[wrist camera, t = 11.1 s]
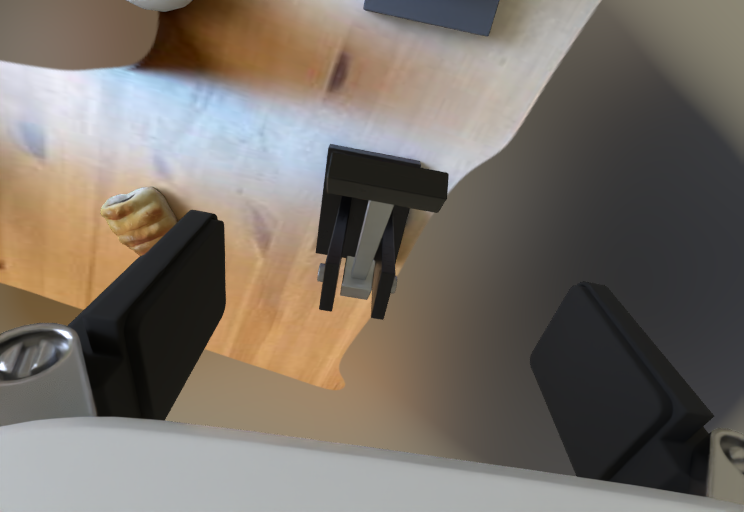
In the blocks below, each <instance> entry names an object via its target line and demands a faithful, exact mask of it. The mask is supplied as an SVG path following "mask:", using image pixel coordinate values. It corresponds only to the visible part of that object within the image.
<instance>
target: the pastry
mask: <svg viewBox="0 0 744 512" xmlns="http://www.w3.org/2000/svg"><path fill="white" fill-rule="evenodd" d="M101 215H102V216H103V217H104V218H105V219H106V221H107V223H108V225H109V227H110V228H111V230H112V231H113V232H114V233H115V234H116V235H117V237H118V239H119V241H120V242H121V243H122V244H124V245H126V246H127V247H129V248H130V249H132V250H134V251H135V252H136V253H137V254H138V255H139V256H142V255H144V254H145V253H147V252H148V251H149V250H150V249H151V248H152V247H153V246H154V245H155V244H156V243H157V242H158V241H159V240H160V239H161V238H162V237H163V236H164V235H165V234H166V233H167V232H168V231H169V230H170V229H171V228H172V227H173V226H174V225H175V224H176V223H177V220H176V217H175V215H174V214H173V211H172V209H170V207H169V206H168V203H167V201H166V199H165V198H164V196H163V195H162V194H161V193H159V192H158V191H157V190H156V189H155V188H153V187H144V188H139V189H137V190H135V191H132V192H130V193H129V194H119V195H116V196H113V197H111V198H109V199H108V200H107V201H106V202H105V204H104V205H103V206H102V208H101Z"/></svg>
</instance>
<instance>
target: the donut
mask: <svg viewBox="0 0 744 512" xmlns="http://www.w3.org/2000/svg"><path fill="white" fill-rule="evenodd" d="M126 1H128V2H131V3H133V4H135V5H137V6H139V7H141V8H143V9H148V10H155V11H162V12H166V11H170V10H174V9H178V8H182V7H185V6H186V5H188V4H189V3H190V2H191V1H193V0H126Z"/></svg>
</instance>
